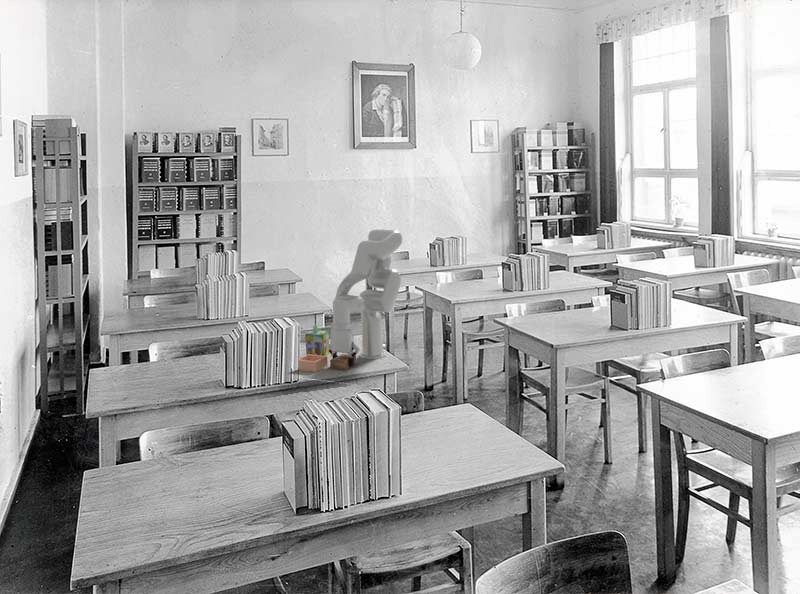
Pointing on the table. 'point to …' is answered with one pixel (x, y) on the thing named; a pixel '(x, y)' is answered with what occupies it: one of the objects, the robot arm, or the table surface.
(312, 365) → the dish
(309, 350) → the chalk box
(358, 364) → the mat
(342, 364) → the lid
